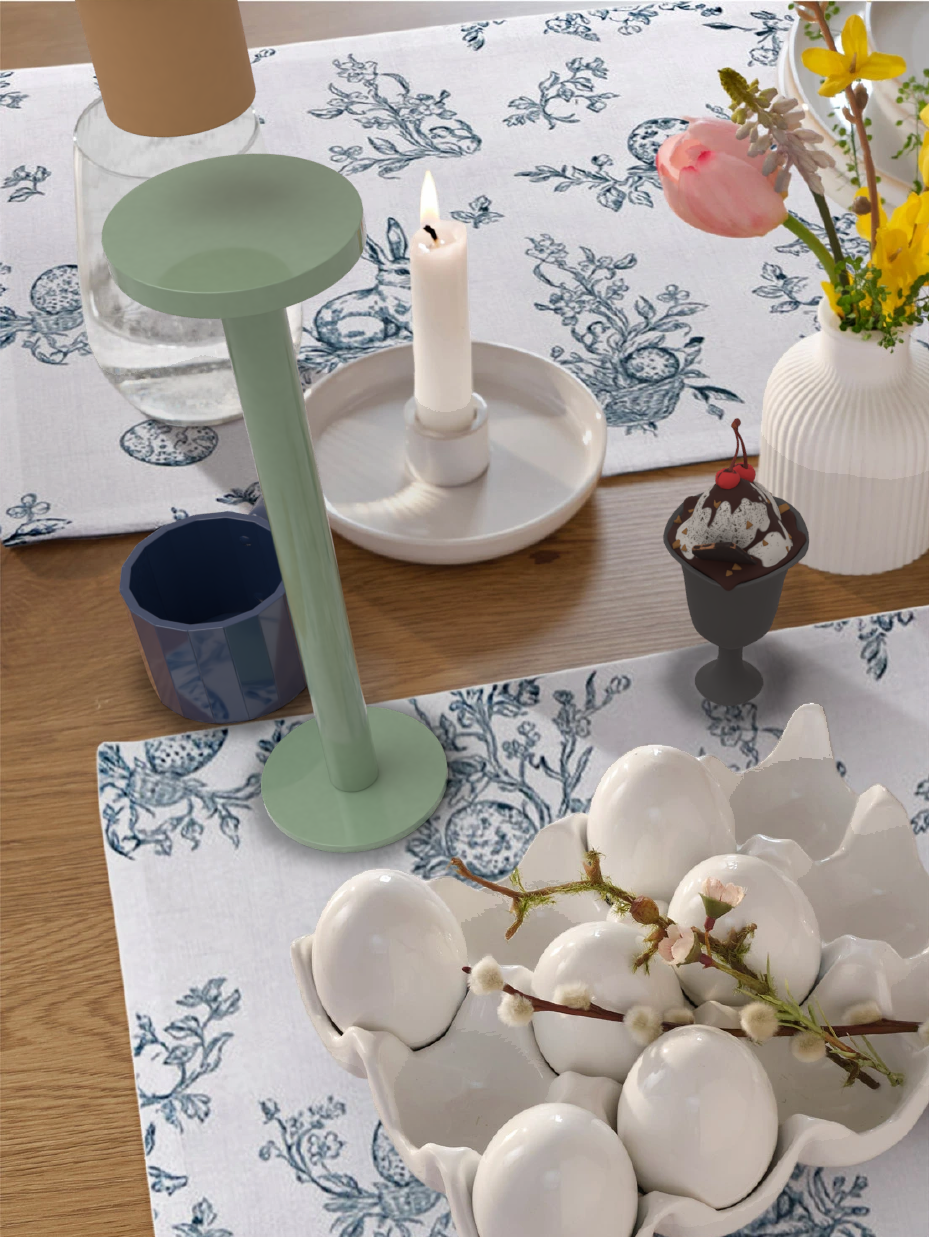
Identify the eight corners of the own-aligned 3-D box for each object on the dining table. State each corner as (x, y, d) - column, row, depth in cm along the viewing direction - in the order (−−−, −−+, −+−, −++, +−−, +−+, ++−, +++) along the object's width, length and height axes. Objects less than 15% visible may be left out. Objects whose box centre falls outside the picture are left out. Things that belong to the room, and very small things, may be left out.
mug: (281, 744, 81) (254, 643, 75) (125, 714, 83) (88, 613, 77) (365, 590, 88) (345, 487, 83) (220, 565, 90) (192, 463, 84)
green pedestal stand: (234, 839, 77) (53, 274, 54) (306, 706, 83) (169, 141, 59) (412, 876, 75) (304, 308, 52) (473, 737, 81) (399, 167, 58)
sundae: (737, 623, 85) (750, 382, 74) (820, 697, 82) (847, 456, 70) (636, 677, 83) (633, 437, 71) (717, 755, 79) (727, 516, 68)
